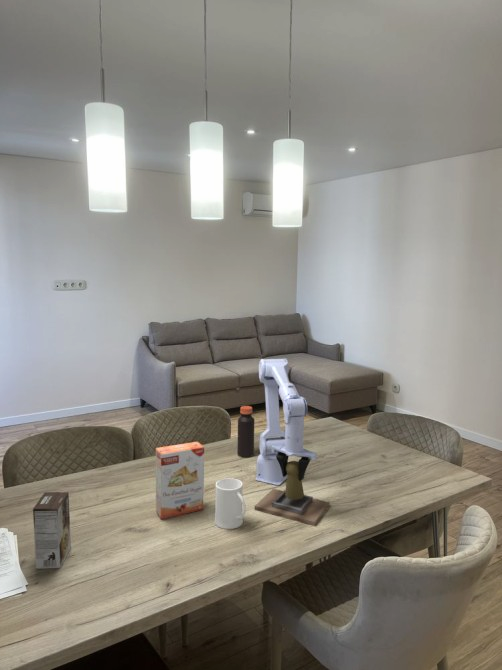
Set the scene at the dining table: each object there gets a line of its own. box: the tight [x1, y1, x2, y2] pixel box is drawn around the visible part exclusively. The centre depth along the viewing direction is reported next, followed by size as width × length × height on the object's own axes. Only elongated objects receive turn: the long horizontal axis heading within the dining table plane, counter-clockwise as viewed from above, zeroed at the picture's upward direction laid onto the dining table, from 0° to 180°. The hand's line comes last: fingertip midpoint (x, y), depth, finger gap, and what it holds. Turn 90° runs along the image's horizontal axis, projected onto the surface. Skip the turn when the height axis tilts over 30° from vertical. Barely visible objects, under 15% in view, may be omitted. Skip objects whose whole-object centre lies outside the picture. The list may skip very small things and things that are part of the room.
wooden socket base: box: [254, 488, 330, 527], centre depth 151 cm, size 20×14×3 cm
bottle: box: [237, 405, 255, 458], centre depth 194 cm, size 7×7×20 cm
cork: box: [285, 460, 305, 500], centre depth 151 cm, size 6×6×11 cm
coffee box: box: [32, 491, 72, 570], centre depth 122 cm, size 9×6×16 cm
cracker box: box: [155, 441, 205, 520], centre depth 147 cm, size 14×6×21 cm, turn 118°
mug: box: [214, 477, 247, 530], centre depth 140 cm, size 12×8×12 cm
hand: (293, 477), depth 150 cm, fingers closed on cork, 5 cm apart
